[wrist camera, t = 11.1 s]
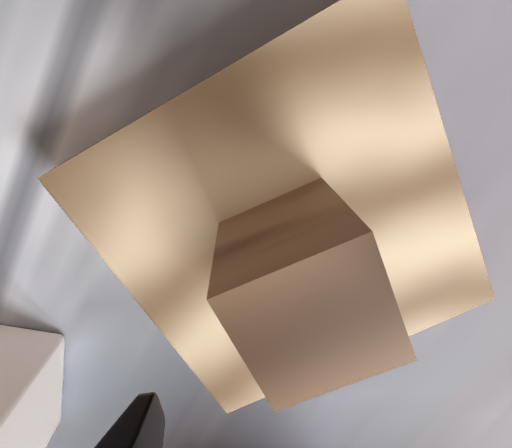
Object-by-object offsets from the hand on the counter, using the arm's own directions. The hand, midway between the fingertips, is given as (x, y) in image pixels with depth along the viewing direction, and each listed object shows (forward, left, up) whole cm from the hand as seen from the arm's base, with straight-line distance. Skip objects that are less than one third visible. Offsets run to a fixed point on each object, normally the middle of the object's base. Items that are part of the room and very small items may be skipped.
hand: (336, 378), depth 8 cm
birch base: (0, 0, -10) cm, 10 cm away
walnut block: (0, 0, -8) cm, 8 cm away
